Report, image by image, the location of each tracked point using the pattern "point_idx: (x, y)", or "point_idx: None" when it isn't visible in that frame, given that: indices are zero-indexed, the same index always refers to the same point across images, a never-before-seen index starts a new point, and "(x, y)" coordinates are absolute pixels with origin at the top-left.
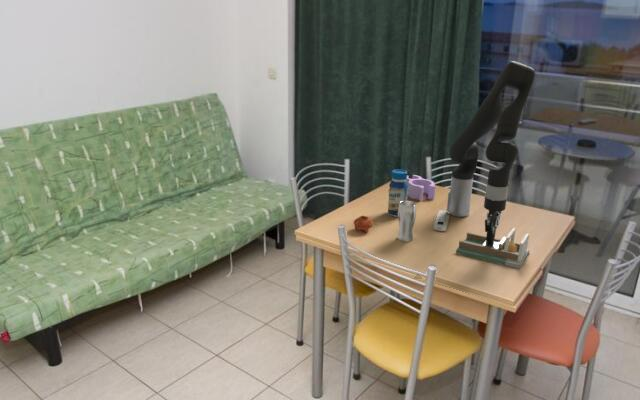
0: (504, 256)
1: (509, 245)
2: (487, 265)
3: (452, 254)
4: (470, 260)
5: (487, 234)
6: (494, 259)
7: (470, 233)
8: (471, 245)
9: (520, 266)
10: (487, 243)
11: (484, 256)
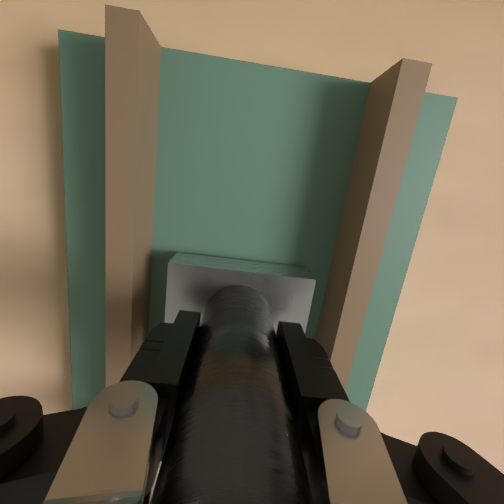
0: None
1: None
2: (17, 308)
3: (38, 20)
4: (20, 190)
5: (126, 373)
6: (73, 351)
7: (400, 102)
8: (112, 166)
9: None
10: (206, 305)
11: (69, 288)
